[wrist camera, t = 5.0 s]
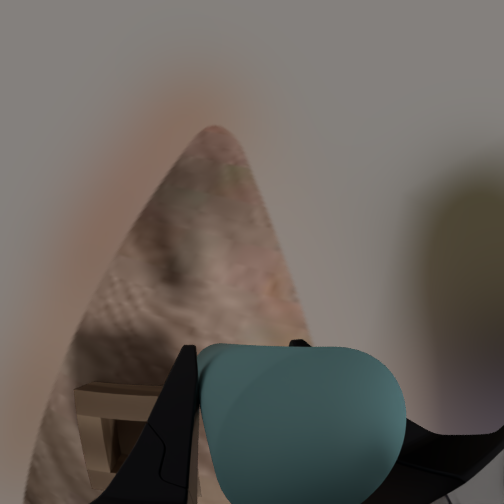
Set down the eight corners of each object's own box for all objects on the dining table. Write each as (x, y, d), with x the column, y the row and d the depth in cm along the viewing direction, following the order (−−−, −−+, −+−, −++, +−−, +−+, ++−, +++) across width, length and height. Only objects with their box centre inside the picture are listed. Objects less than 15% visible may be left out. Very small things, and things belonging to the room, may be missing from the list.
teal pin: (250, 394, 15) (399, 491, 3) (195, 397, 15) (224, 541, 2) (247, 342, 16) (404, 333, 4) (192, 343, 16) (206, 356, 3)
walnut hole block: (198, 471, 18) (201, 496, 14) (106, 466, 16) (92, 488, 12) (189, 385, 20) (190, 396, 16) (93, 381, 19) (73, 389, 14)
